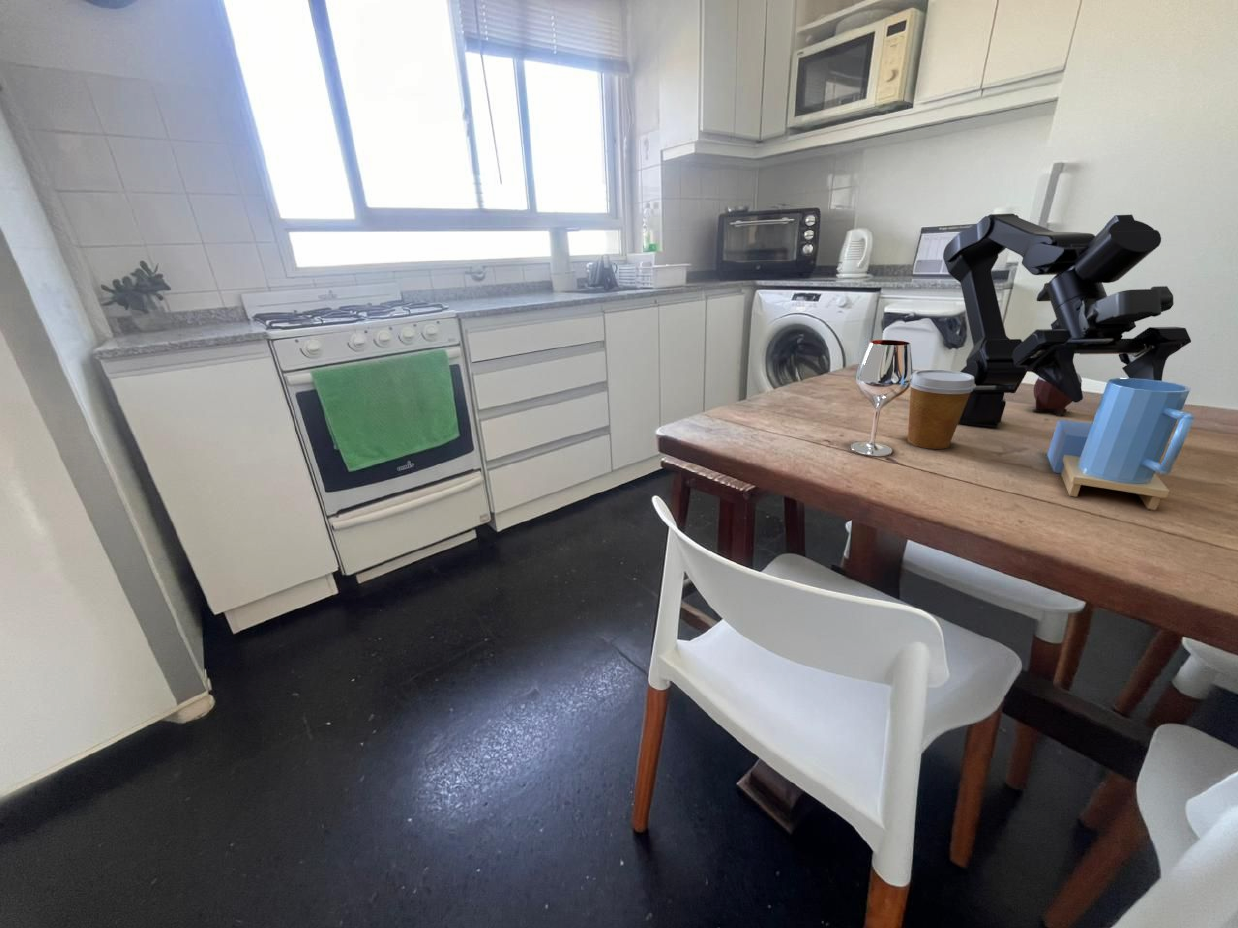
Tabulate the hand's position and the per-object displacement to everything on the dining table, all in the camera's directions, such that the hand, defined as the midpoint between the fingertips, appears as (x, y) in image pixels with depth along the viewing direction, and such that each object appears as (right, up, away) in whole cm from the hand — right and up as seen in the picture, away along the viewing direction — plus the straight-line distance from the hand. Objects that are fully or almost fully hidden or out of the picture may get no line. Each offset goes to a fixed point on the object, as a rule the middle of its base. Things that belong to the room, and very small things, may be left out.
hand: (1116, 400), depth 65 cm
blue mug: (0, -10, -1) cm, 10 cm away
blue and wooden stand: (+3, -11, +5) cm, 12 cm away
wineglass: (-23, -6, +19) cm, 30 cm away
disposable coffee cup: (-12, -5, +21) cm, 25 cm away
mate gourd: (+21, +2, +35) cm, 40 cm away
